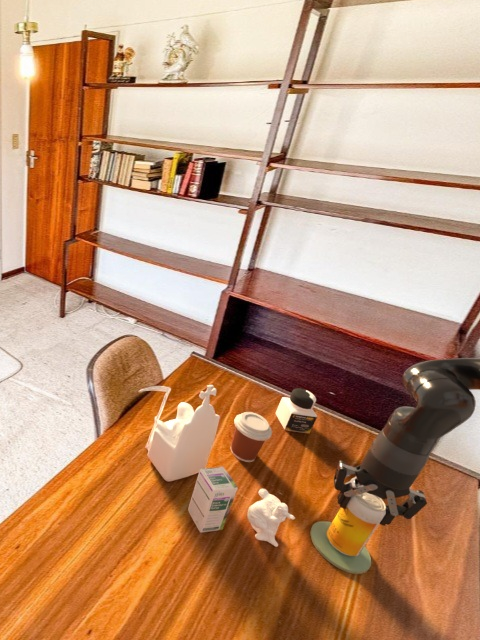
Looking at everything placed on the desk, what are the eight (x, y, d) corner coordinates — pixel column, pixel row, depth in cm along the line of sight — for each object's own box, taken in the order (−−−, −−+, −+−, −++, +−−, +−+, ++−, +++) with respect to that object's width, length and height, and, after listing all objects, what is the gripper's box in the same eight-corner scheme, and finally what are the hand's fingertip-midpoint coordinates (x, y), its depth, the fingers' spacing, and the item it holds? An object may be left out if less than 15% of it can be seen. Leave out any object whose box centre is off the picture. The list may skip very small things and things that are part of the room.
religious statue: (175, 434, 116) (197, 351, 103) (208, 472, 105) (238, 384, 92) (124, 448, 111) (141, 362, 98) (153, 490, 100) (177, 398, 87)
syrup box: (199, 533, 90) (215, 491, 84) (186, 509, 95) (200, 467, 89) (222, 530, 91) (239, 488, 85) (208, 506, 96) (222, 464, 90)
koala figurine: (288, 550, 87) (307, 515, 82) (261, 554, 86) (278, 519, 81) (263, 514, 95) (278, 480, 90) (237, 516, 94) (251, 482, 89)
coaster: (365, 539, 90) (367, 537, 90) (373, 585, 82) (375, 583, 81) (309, 514, 95) (310, 512, 95) (310, 555, 87) (312, 552, 86)
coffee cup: (267, 456, 110) (280, 424, 105) (250, 471, 106) (263, 439, 100) (236, 435, 117) (247, 404, 112) (218, 448, 112) (229, 416, 107)
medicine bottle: (284, 430, 119) (297, 400, 114) (274, 413, 126) (286, 384, 121) (309, 434, 118) (324, 403, 113) (298, 416, 125) (312, 387, 120)
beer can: (328, 524, 92) (353, 480, 85) (361, 544, 88) (390, 499, 81) (322, 543, 88) (348, 498, 81) (356, 564, 84) (386, 519, 77)
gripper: (352, 453, 76) (321, 509, 84) (452, 490, 70) (409, 548, 77) (347, 428, 82) (319, 483, 89) (439, 460, 76) (400, 516, 83)
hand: (361, 512), depth 83 cm, fingers closed on beer can, 6 cm apart
